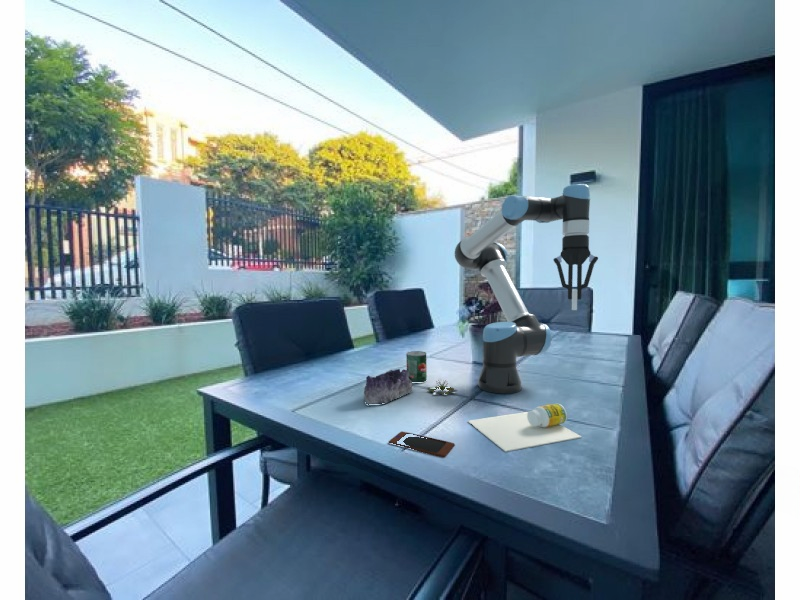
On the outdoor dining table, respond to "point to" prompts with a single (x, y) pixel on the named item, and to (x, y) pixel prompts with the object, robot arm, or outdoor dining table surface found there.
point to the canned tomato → (417, 366)
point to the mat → (520, 432)
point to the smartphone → (425, 444)
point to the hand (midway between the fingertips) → (574, 309)
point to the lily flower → (442, 387)
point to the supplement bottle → (547, 415)
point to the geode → (387, 387)
